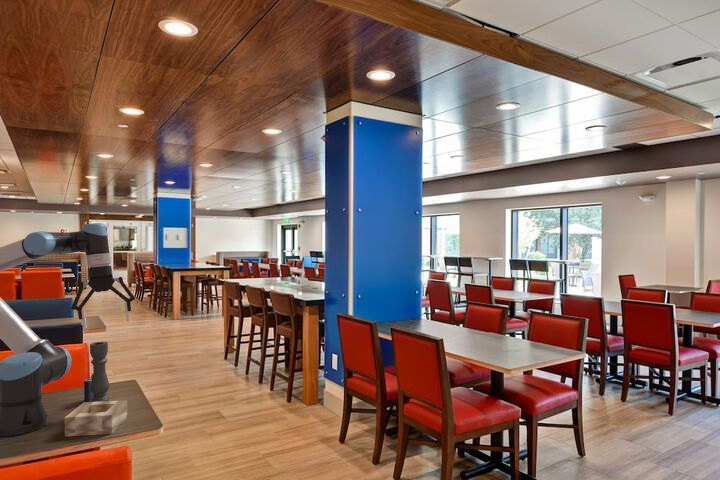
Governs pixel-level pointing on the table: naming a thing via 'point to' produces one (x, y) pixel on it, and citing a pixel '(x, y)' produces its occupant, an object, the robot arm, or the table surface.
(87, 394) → the flask
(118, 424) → the socket block
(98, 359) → the candle holder
